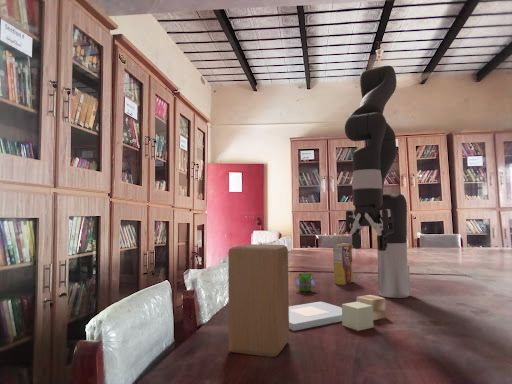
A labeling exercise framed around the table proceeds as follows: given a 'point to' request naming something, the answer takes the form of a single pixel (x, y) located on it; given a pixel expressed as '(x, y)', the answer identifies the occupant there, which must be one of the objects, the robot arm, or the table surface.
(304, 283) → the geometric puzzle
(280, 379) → the table surface
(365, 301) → the maple block
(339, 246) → the candy box
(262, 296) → the wooden block
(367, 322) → the sage cap block
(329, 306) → the board
